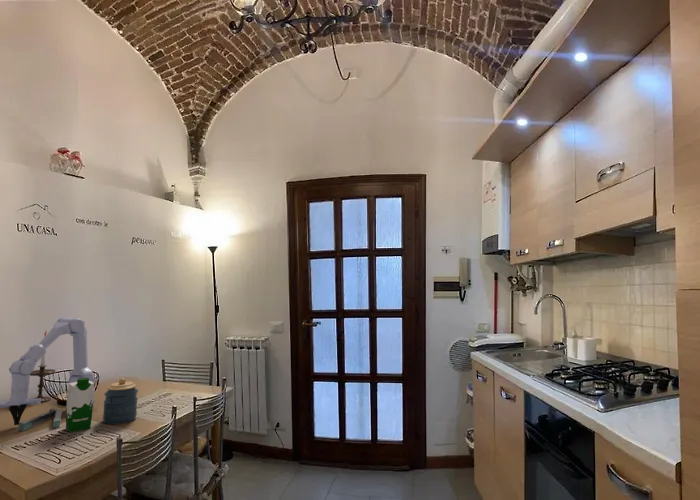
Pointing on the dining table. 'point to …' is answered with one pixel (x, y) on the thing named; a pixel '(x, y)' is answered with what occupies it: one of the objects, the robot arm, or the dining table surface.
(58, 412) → the tongs fixed
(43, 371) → the candlestick
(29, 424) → the tong leg
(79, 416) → the milk carton
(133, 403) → the canister
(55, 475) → the dining table surface
